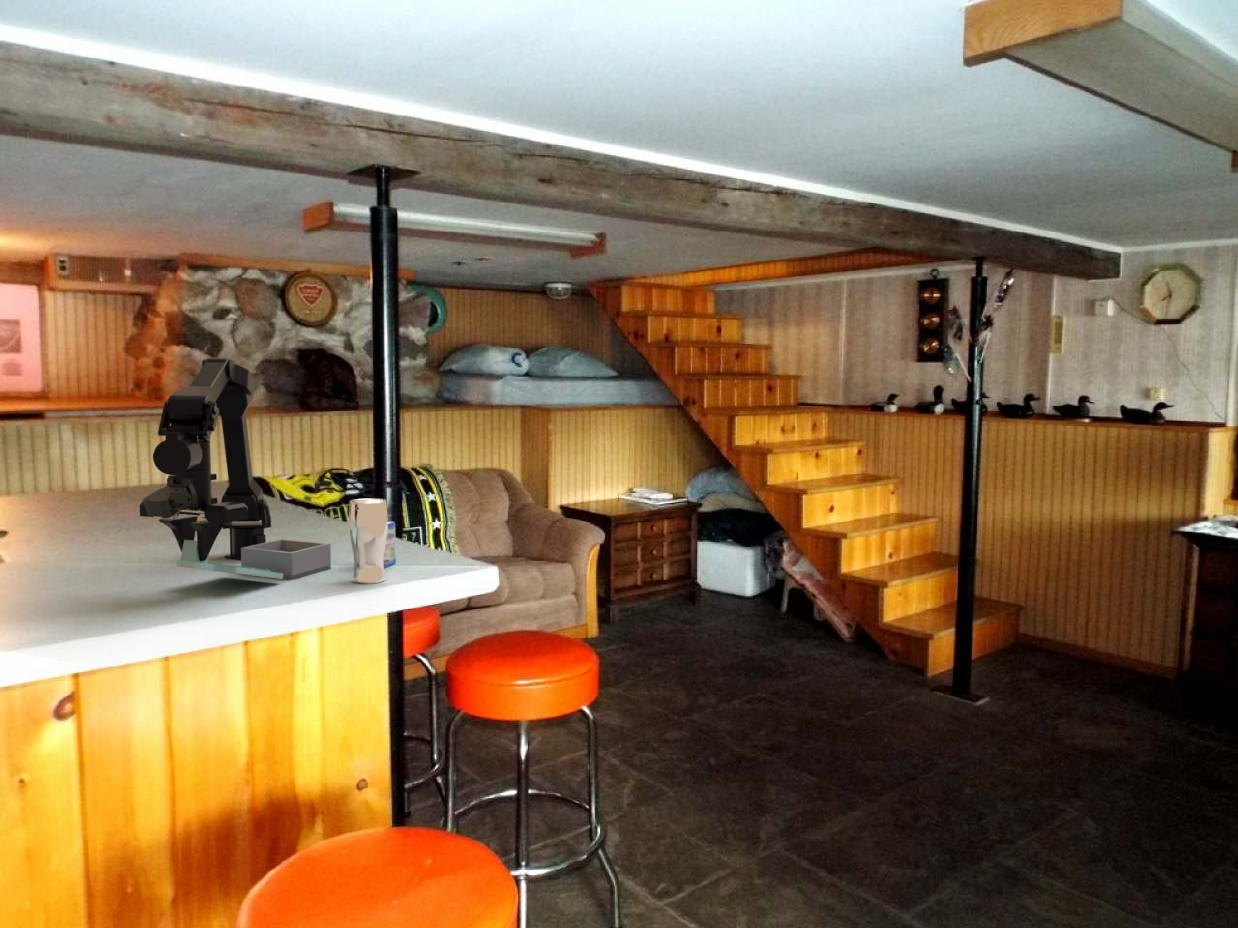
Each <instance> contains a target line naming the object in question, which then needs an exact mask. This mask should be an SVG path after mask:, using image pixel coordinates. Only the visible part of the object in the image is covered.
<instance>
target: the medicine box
mask: <svg viewBox="0 0 1238 928" xmlns="http://www.w3.org/2000/svg"><path fill="white" fill-rule="evenodd" d="M396 548H397V546H396V523H395V521H388V530H387V538H386V545H385V550H384V560H383V562H384V569H386V568H388V567H391V566H392V565H395V564H396V561H397V559H396V556H397V555H396V551H397V549H396ZM387 566H388V567H387ZM385 567H386V568H385Z"/></svg>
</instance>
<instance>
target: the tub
mask: <svg viewBox="0 0 1238 928" xmlns="http://www.w3.org/2000/svg"><path fill="white" fill-rule="evenodd" d="M331 560H332V559H331V543H329V542H317V541H304V540H298V539H297V540H295V539H285V538H280V539H274V540H271V541H266V543H261V544H257V545H252V546H248V547H244V548H241V559H240V564H241V565H240V566H244V567H253V568H258V569H267V570H270V572H276V573H283V579H282V580H291V581H292V580H296V579H300V578H304V577H307V576H309V575H310V576H311V575H314V574H317V573H320V572H324V571H326V570H331V569H332V566H331V565H332V564H331V563H332V562H331Z"/></svg>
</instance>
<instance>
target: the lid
mask: <svg viewBox="0 0 1238 928" xmlns="http://www.w3.org/2000/svg"><path fill="white" fill-rule="evenodd" d="M209 555H210V553H209V554H208V557H207V559H206V560H204V561H200V560H199V555H198V544H197V540H194V541H192V540H184V544H183V549H182V552H181V554H180V559H178V560H177V561H176V567H180V568H190V569H196V570H205V571H210V572H211V571H212V572H219V573H229V574H235V575H236V574H237V575H244V576H252V577H253V576H254V577H263V578H272V579H280V580H281V579H282V580H284V579H283V573H276V572H270V570H267V569H258V568H253V567H244V566H241V565H233V564H224V563H218V562H217V563H216V562H215V563H214V562H208V560H209V557H210V556H209Z"/></svg>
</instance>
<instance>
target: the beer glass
mask: <svg viewBox="0 0 1238 928" xmlns="http://www.w3.org/2000/svg"><path fill="white" fill-rule="evenodd" d="M348 512H349V513H348V532H349V539H350V543H351V549H352V553H353V571H352V578H351V581H352V582H353V583H355V584H360V585H363V584H364V585H368V584H369V585H370V584H371V585H372V584H378V583H383V582H385V581H386V579H387V576H386V572H385V568H384V562H383V560H384V550H385V545H386V538H387V530H388V522H389V521H388V520H389V517H388V506H387V499H385V498H370V497H369V498H357V499H356V498H355V499H351V500H350V501H349V511H348Z"/></svg>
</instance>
